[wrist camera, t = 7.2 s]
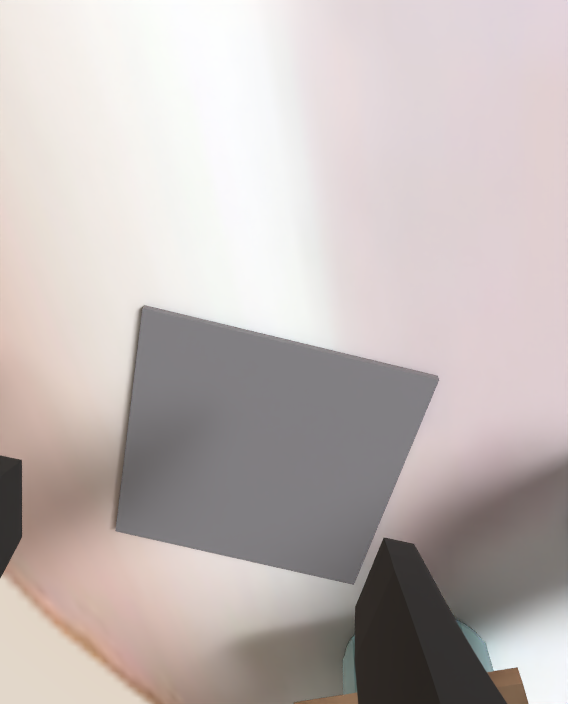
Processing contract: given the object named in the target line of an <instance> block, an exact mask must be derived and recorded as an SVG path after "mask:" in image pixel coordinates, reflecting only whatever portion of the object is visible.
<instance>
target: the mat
mask: <svg viewBox="0 0 568 704" xmlns="http://www.w3.org/2000/svg"><path fill="white" fill-rule="evenodd" d="M438 381H439V378H438V376H436V375H432V374H428V373H423V372H419V371H415V370H411V369H407V368H403V367H398V366H394V365H390V364H386V363H382V362H378V361H374V360H369V359H365V358H361V357H357V356H353V355H349V354H344V353H340V352H336V351H332V350H328V349H324V348H320V347H315V346H311V345H307V344H303V343H299V342H295V341H291V340H286V339H282V338H278V337H274V336H270V335H266V334H261V333H257V332H253V331H249V330H245V329H241V328H237V327H232V326H228V325H224V324H220V323H216V322H212V321H207V320H203V319H199V318H195V317H191V316H187V315H183V314H178V313H174V312H170V311H166V310H162V309H158V308H153V307H149V306H144V307H143V308H142V316H141V324H140V332H139V341H138V349H137V357H136V366H135V374H134V382H133V390H132V399H131V407H130V415H129V423H128V432H127V440H126V448H125V456H124V465H123V473H122V481H121V489H120V498H119V506H118V514H117V523H116V531H117V532H121V533H126V534H130V535H135V536H139V537H144V538H148V539H153V540H157V541H162V542H166V543H170V544H175V545H179V546H184V547H188V548H193V549H197V550H202V551H206V552H211V553H215V554H219V555H224V556H228V557H233V558H237V559H242V560H246V561H251V562H255V563H260V564H264V565H269V566H273V567H277V568H282V569H286V570H291V571H295V572H300V573H304V574H309V575H313V576H318V577H322V578H326V579H331V580H335V581H340V582H344V583H349V584H353V585H354V583H355V580H356V578H357V576H358V573H359V571H360V568H361V566H362V564H363V561H364V559H365V556H366V554H367V552H368V549H369V547H370V544H371V542H372V540H373V537H374V535H375V532H376V530H377V528H378V525H379V523H380V520H381V518H382V516H383V513H384V511H385V508H386V506H387V504H388V501H389V499H390V496H391V494H392V492H393V489H394V487H395V484H396V482H397V480H398V477H399V475H400V472H401V470H402V468H403V465H404V463H405V460H406V458H407V456H408V453H409V451H410V448H411V446H412V444H413V441H414V439H415V436H416V434H417V432H418V429H419V427H420V424H421V422H422V420H423V417H424V415H425V412H426V410H427V408H428V405H429V403H430V400H431V398H432V396H433V393H434V391H435V388H436V386H437V384H438Z"/></svg>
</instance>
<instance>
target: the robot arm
mask: <svg viewBox="0 0 568 704" xmlns="http://www.w3.org/2000/svg"><path fill="white" fill-rule="evenodd" d="M21 538H22V460H19V459H14V458H9V457H5V456H0V578H1V576H2V574H3V572H4V570H5V569H6V567H7V565H8V563H9V561H10V559H11V557H12V555H13V553H14V551H15V549H16V547H17V546H18V544H19V542H20V540H21ZM354 661H355V673H356V685H357V696H358V704H507V702H506V701H505V699H504V698H503V696H502V695H501V693H500V692H499V690H498V689H497V687H496V686H495V684H494V682H493V681H492V679H491V678H490V676H489V675H488V673H487V671H486V670H485V668H484V667H483V665H482V663H481V662H480V660H479V659H478V657H477V655H476V653H475V652H474V650H473V648H472V647H471V645H470V643H469V642H468V640H467V638H466V637H465V635H464V633H463V632H462V630H461V628H460V627H459V625H458V623H457V621H456V620H455V618H454V616H453V614H452V613H451V611H450V609H449V607H448V605H447V604H446V602H445V600H444V598H443V596H442V595H441V593H440V591H439V589H438V587H437V585H436V584H435V582H434V580H433V578H432V576H431V574H430V572H429V571H428V569H427V567H426V565H425V563H424V561H423V559H422V558H421V556H420V554H419V552H418V550H417V549H416V547H415V545H414V544H412V543H407V542H402V541H398V540H393V539H388V538H383V541H382V543H381V546H380V548H379V551H378V553H377V555H376V558H375V560H374V563H373V565H372V568H371V570H370V572H369V575H368V577H367V580H366V582H365V585H364V587H363V589H362V592H361V594H360V597H359V599H358V602H357V604H356V606H355V655H354Z"/></svg>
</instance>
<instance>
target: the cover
mask: <svg viewBox="0 0 568 704" xmlns="http://www.w3.org/2000/svg"><path fill="white" fill-rule="evenodd" d="M487 673H488V675H489V676H490V678H491V679H492V681H493V682H494V684H495V686H496V687H497V689H498V690H499V692H500V693H501V695H502V696H503V698H504V699H505V701H506V702H507V704H528V700H527V697H526V693H525V690H524V686H523V683H522V680H521V677H520V674H519V671H518V668H511V669H505V670H498V671H492V672H487ZM294 704H358V696H357V693H351V694H345V695H338V696H332V697H325V698H319V699H313V700H306V701H300V702H294Z"/></svg>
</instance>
